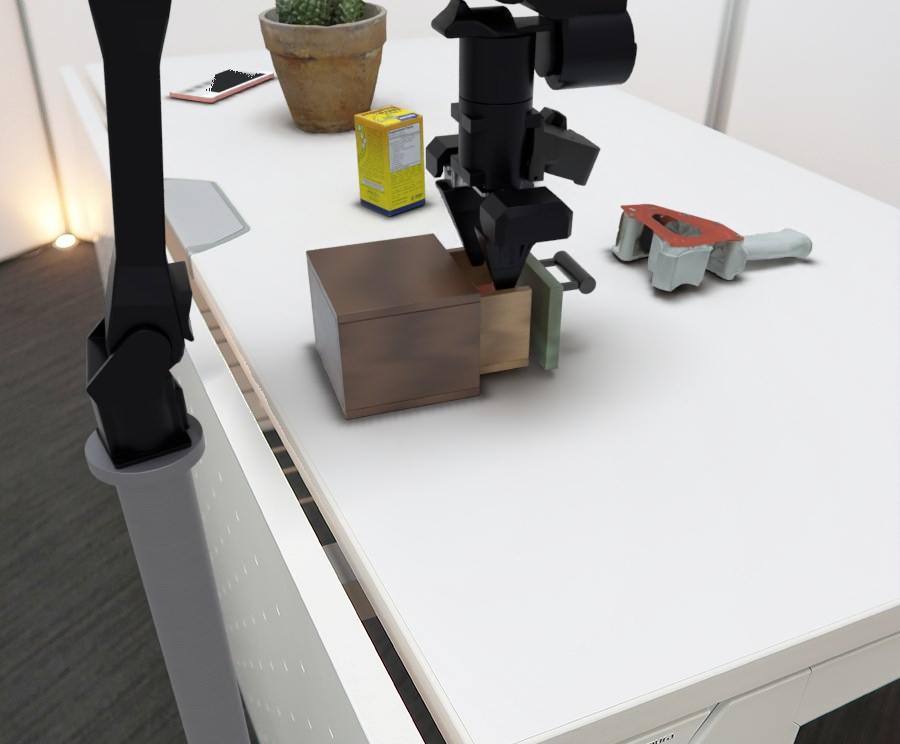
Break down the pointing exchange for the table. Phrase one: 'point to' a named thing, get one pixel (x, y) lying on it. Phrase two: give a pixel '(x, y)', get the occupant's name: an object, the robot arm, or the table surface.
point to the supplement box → (390, 159)
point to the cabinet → (395, 324)
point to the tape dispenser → (696, 245)
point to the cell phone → (228, 85)
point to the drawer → (524, 311)
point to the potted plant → (325, 58)
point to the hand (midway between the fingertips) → (490, 281)
